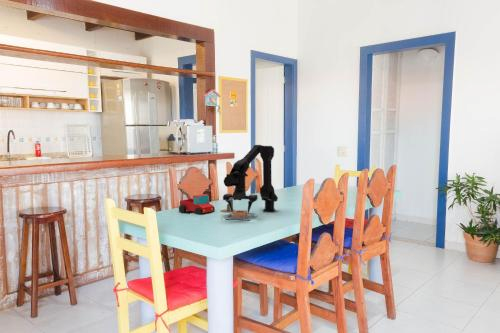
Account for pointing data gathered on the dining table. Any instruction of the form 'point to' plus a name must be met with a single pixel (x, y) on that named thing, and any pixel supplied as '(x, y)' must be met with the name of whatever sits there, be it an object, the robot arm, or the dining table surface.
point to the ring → (240, 213)
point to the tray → (238, 218)
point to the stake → (227, 210)
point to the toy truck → (197, 204)
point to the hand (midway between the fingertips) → (240, 212)
